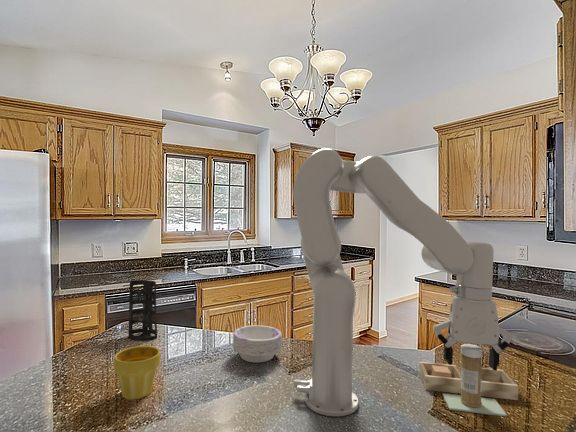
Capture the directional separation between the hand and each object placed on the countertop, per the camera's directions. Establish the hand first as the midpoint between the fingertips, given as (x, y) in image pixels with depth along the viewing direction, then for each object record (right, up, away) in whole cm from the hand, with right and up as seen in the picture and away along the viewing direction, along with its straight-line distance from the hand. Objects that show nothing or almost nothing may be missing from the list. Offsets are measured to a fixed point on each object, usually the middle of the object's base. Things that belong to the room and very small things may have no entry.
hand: (470, 365), depth 83 cm
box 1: (-2, -10, +11) cm, 15 cm away
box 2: (+9, -10, +8) cm, 16 cm away
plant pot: (-81, -8, +2) cm, 81 cm away
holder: (-96, -8, +42) cm, 105 cm away
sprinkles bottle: (0, -9, 0) cm, 9 cm away
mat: (0, -9, 0) cm, 9 cm away
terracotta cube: (-2, -10, +11) cm, 15 cm away
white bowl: (-53, -9, +26) cm, 60 cm away
